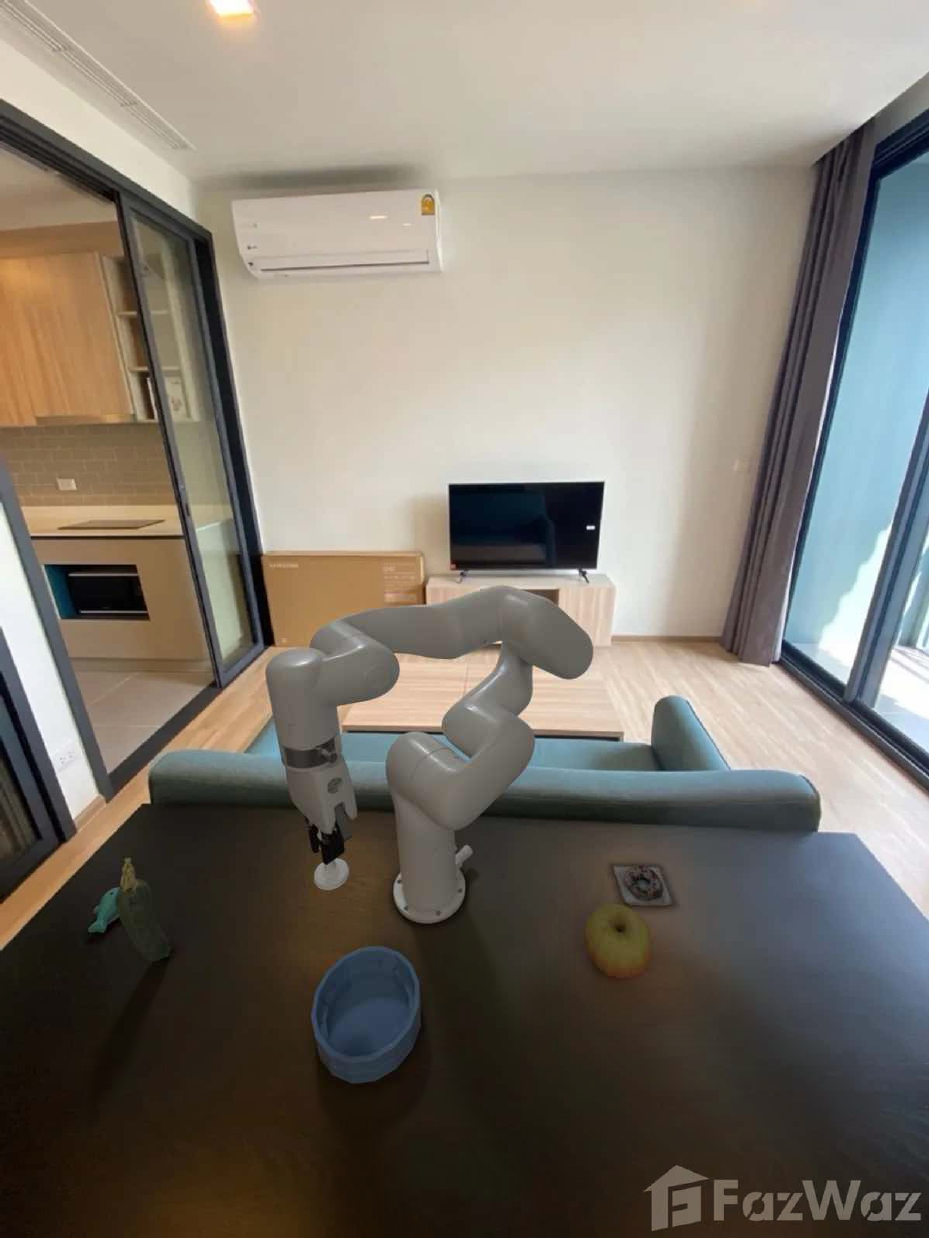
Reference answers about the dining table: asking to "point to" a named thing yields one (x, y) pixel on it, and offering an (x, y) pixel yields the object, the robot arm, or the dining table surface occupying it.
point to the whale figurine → (105, 912)
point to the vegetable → (140, 915)
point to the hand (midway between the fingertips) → (328, 851)
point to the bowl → (367, 1014)
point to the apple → (618, 941)
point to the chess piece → (330, 873)
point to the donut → (642, 886)
